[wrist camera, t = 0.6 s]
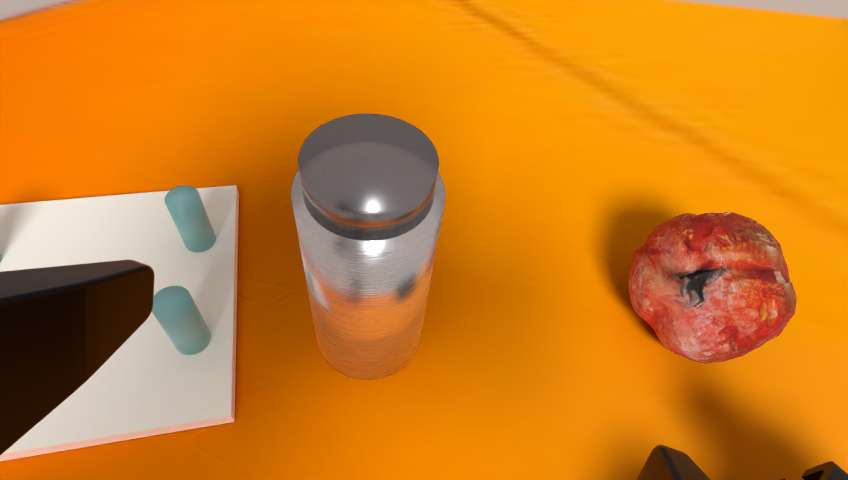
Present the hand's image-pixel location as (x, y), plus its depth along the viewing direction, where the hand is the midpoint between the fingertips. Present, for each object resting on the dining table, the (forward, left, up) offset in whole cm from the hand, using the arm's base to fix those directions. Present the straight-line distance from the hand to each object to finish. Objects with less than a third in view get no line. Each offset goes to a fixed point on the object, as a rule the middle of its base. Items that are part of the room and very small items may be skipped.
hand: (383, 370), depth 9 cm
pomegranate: (+18, -8, -16) cm, 25 cm away
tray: (0, +17, -15) cm, 23 cm away
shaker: (+7, +5, -15) cm, 18 cm away
